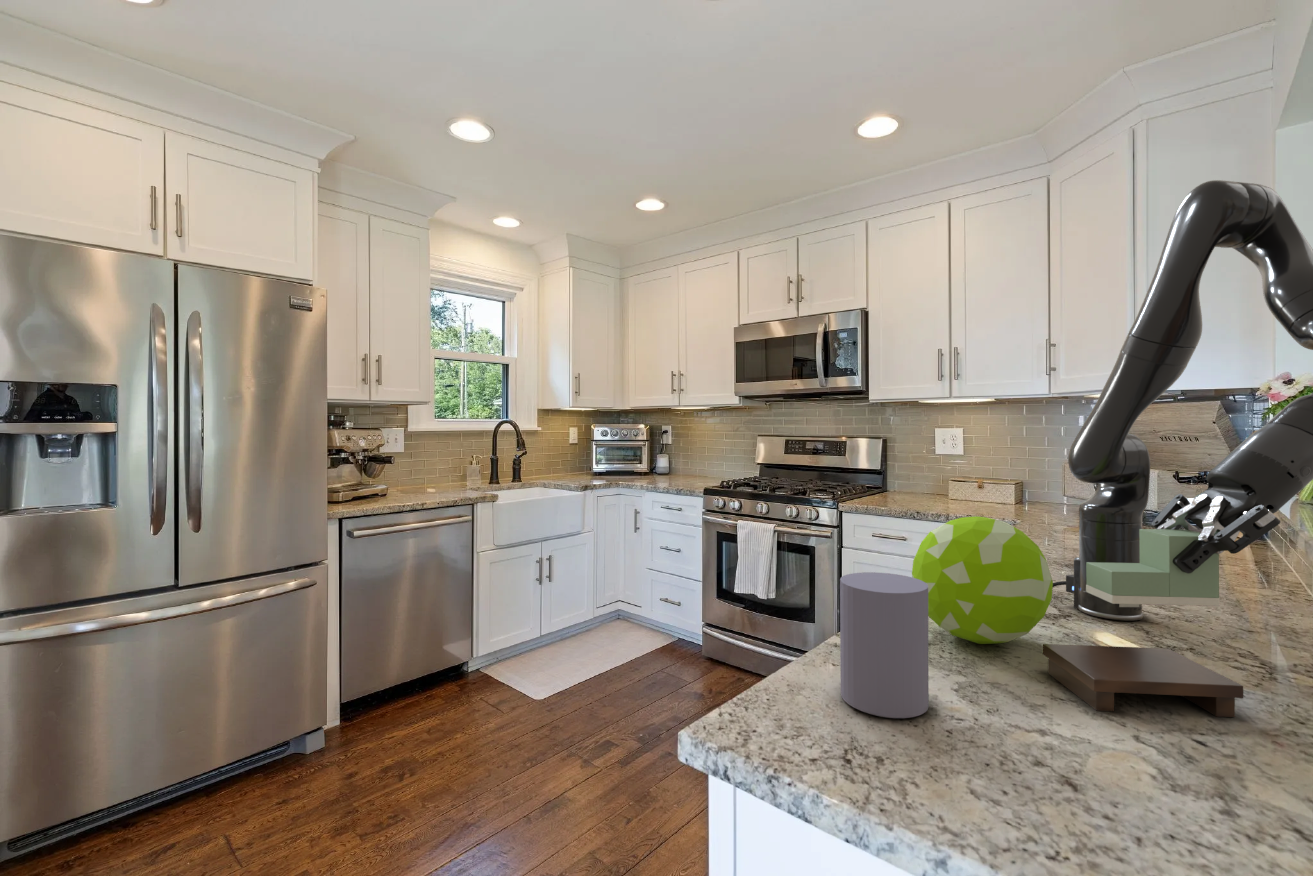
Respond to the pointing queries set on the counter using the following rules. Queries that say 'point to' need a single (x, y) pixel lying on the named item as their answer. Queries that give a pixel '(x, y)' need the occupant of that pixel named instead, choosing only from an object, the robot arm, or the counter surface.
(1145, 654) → the shoe shelf
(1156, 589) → the sage green stepped block
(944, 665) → the counter surface
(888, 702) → the container
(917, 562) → the melon
